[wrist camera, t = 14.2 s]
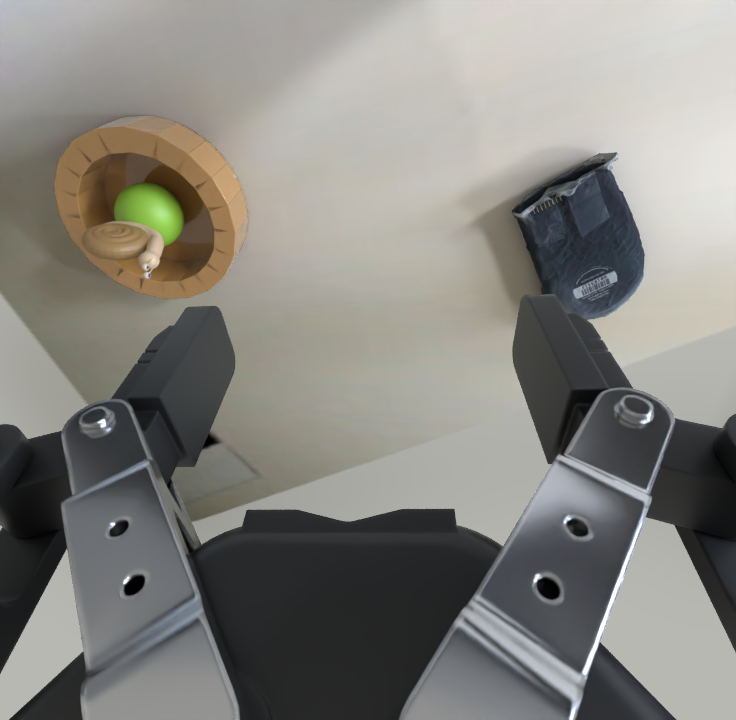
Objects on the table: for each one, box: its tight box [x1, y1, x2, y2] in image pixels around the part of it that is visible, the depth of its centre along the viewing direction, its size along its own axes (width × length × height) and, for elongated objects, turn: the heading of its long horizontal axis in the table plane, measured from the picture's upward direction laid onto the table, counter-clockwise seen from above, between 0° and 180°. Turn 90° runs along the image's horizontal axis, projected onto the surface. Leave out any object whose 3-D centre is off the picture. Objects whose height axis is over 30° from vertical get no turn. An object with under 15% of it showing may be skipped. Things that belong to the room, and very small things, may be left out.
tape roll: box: [54, 116, 248, 299], centre depth 39 cm, size 15×15×4 cm
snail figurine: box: [82, 182, 184, 279], centre depth 35 cm, size 5×6×12 cm
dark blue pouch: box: [510, 153, 645, 320], centre depth 40 cm, size 9×6×15 cm
